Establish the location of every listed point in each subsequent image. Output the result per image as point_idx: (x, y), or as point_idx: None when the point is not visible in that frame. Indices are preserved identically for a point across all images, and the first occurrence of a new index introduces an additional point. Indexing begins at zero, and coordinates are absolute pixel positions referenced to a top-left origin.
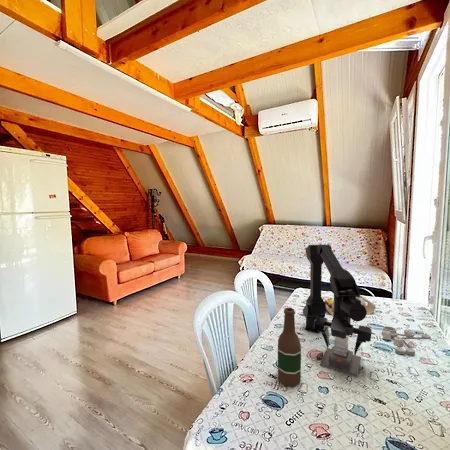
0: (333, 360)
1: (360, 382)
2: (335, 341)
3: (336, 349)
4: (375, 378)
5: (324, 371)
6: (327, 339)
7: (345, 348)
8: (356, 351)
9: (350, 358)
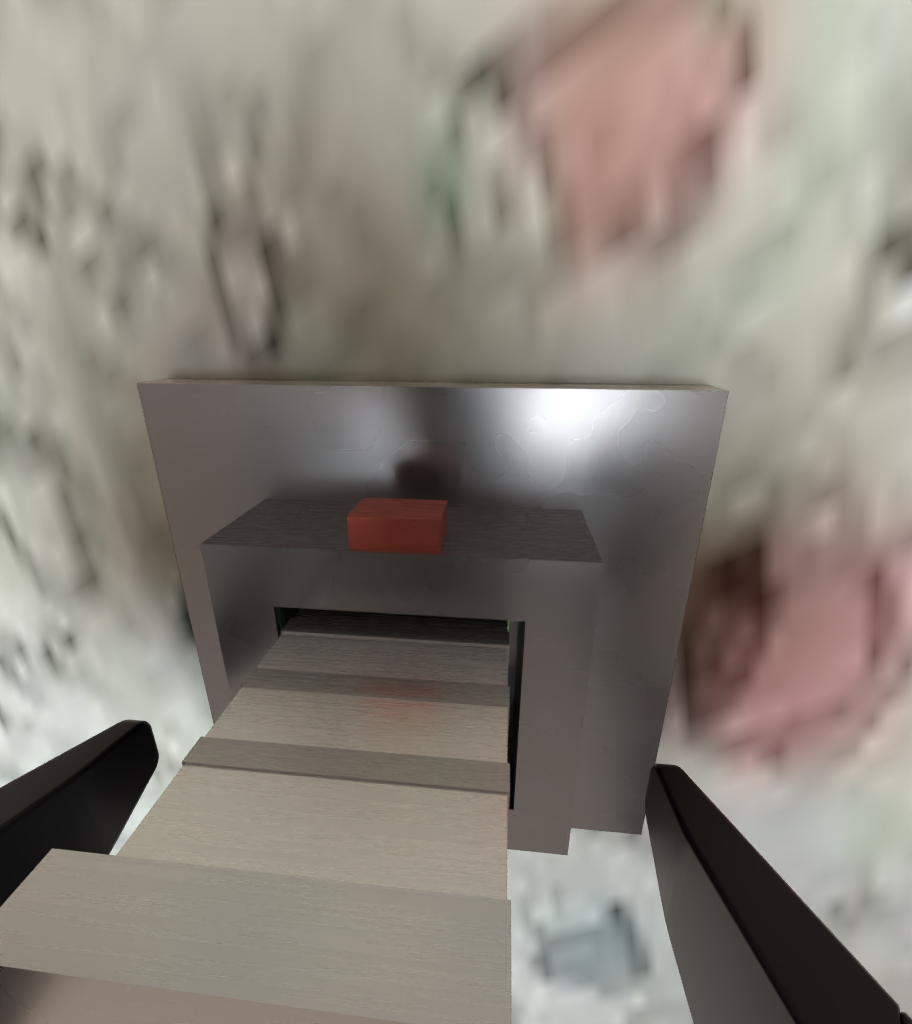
0: (507, 523)
1: (99, 277)
2: (442, 990)
3: (454, 720)
4: (5, 480)
5: (620, 257)
6: (768, 1015)
7: (201, 779)
8: (26, 778)
9: (225, 631)
